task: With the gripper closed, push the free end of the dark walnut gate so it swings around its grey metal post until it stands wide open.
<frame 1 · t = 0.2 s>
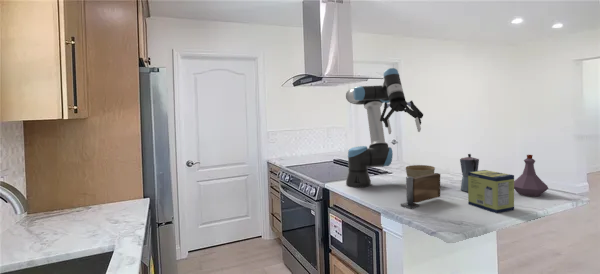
hand: (404, 131, 153), 35 cm above the countertop, tool tilted 35°, fingers open, 13 cm apart
gate post: (410, 206, 155), on the countertop
protein box: (490, 207, 149), on the countertop
moka pot: (470, 191, 177), on the countertop
gate: (425, 187, 160), point 7 cm above the countertop, hinge at 0.0°
planter bowl: (420, 185, 194), on the countertop
flask: (529, 194, 167), on the countertop
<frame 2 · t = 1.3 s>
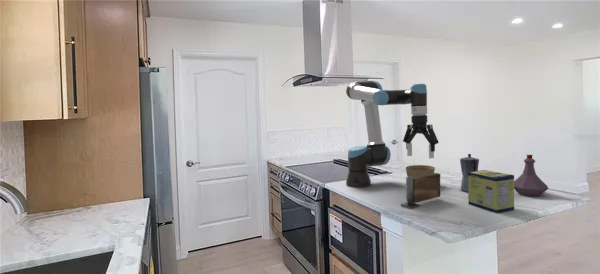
hand: (420, 157, 167), 21 cm above the countertop, tool pointing down, fingers open, 13 cm apart
nothing on the countertop moved.
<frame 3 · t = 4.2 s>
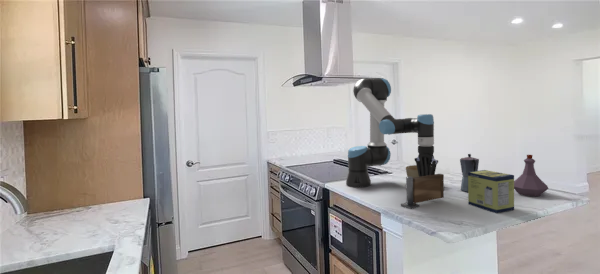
hand: (426, 191, 166), 4 cm above the countertop, tool pointing down, fingers closed
gate: (427, 188, 159), point 7 cm above the countertop, hinge at 6.1°, touching hand
everything else where it was.
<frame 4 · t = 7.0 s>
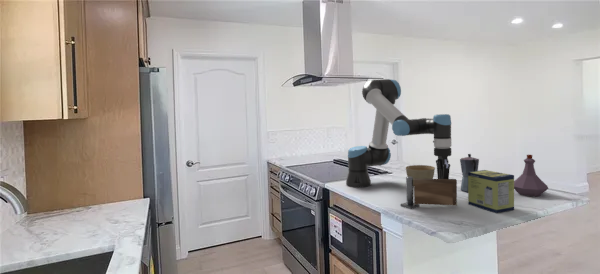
hand: (443, 196, 156), 4 cm above the countertop, tool pointing down, fingers closed
gate: (434, 191, 151), point 7 cm above the countertop, hinge at 44.9°, touching hand
everything else where it was.
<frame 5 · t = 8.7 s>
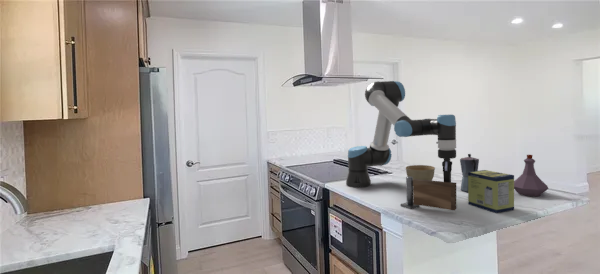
hand: (447, 200, 150), 4 cm above the countertop, tool pointing down, fingers closed
gate: (434, 194, 147), point 7 cm above the countertop, hinge at 67.8°, touching hand
everything else where it was.
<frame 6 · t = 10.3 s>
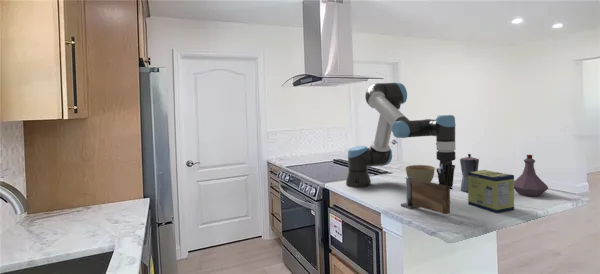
hand: (446, 204, 144), 4 cm above the countertop, tool pointing down, fingers closed
gate: (429, 195, 145), point 7 cm above the countertop, hinge at 88.9°, touching hand
everything else where it was.
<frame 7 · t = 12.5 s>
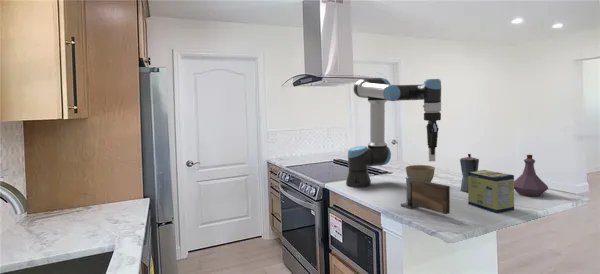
hand: (431, 161, 158), 20 cm above the countertop, tool pointing down, fingers closed
gate: (429, 195, 145), point 7 cm above the countertop, hinge at 88.9°
everything else where it was.
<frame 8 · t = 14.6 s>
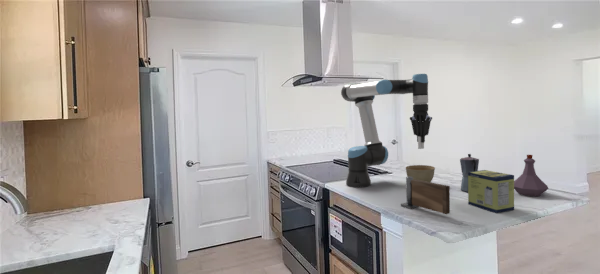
hand: (421, 148, 174), 24 cm above the countertop, tool pointing down, fingers closed
nothing on the countertop moved.
at the end: gate at +89° (first picture: +0°) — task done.
